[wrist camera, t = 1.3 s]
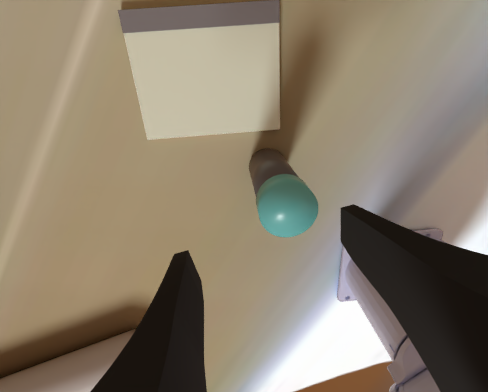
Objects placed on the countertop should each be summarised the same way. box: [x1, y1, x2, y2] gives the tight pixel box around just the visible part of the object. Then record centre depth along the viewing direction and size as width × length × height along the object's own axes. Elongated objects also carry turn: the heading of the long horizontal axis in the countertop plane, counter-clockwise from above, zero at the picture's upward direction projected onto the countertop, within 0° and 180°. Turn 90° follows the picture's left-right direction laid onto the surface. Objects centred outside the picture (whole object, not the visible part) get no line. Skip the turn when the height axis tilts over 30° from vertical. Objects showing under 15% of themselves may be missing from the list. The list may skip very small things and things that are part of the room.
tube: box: [0, 329, 136, 392], centre depth 27 cm, size 5×5×25 cm
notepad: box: [118, 0, 280, 140], centre depth 18 cm, size 10×8×1 cm
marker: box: [249, 148, 318, 237], centre depth 17 cm, size 3×3×8 cm
